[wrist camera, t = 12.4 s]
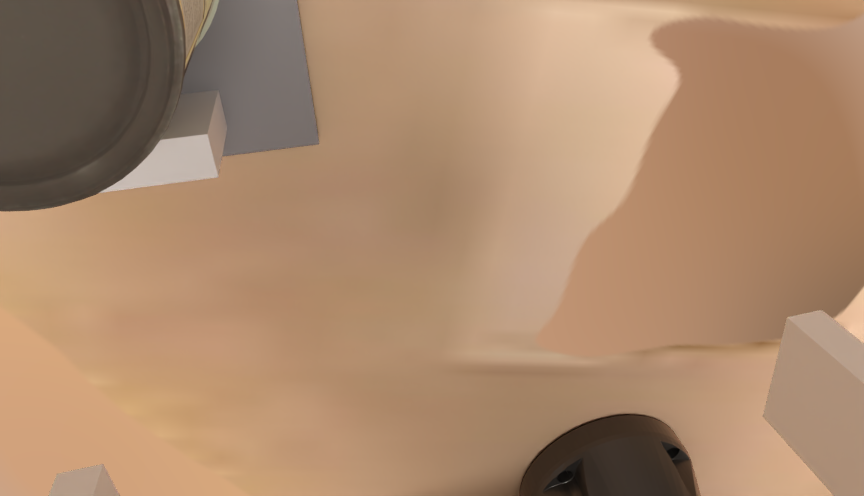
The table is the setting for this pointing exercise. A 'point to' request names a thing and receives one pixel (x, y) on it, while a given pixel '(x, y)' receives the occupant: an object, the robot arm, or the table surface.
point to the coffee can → (87, 91)
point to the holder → (235, 95)
